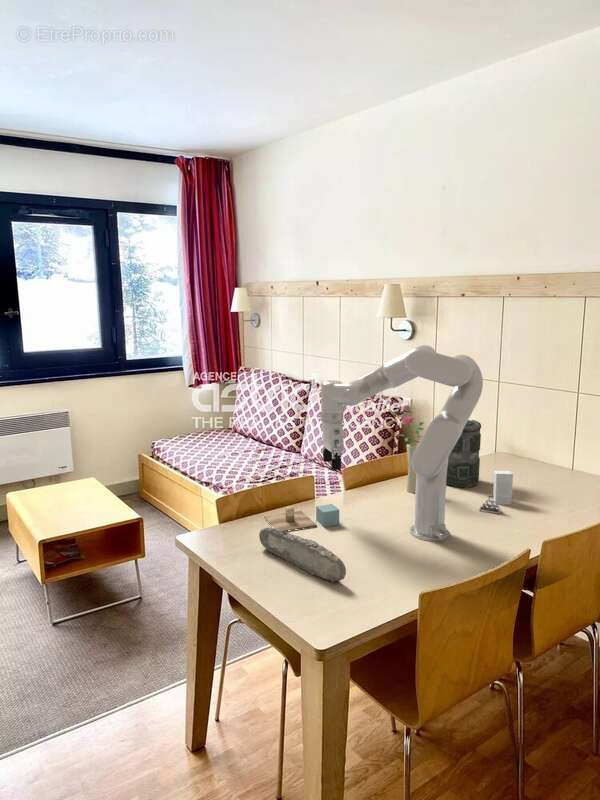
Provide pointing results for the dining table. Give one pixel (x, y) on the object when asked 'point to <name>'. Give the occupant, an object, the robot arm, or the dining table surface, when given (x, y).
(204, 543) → the dining table surface
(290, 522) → the post block
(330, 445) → the robot arm
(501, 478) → the skincare box
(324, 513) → the dusty teal cube
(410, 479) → the flower vase
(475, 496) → the dining table surface
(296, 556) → the elongated rock
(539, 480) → the dining table surface
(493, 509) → the silver ball pyramid
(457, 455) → the canister
